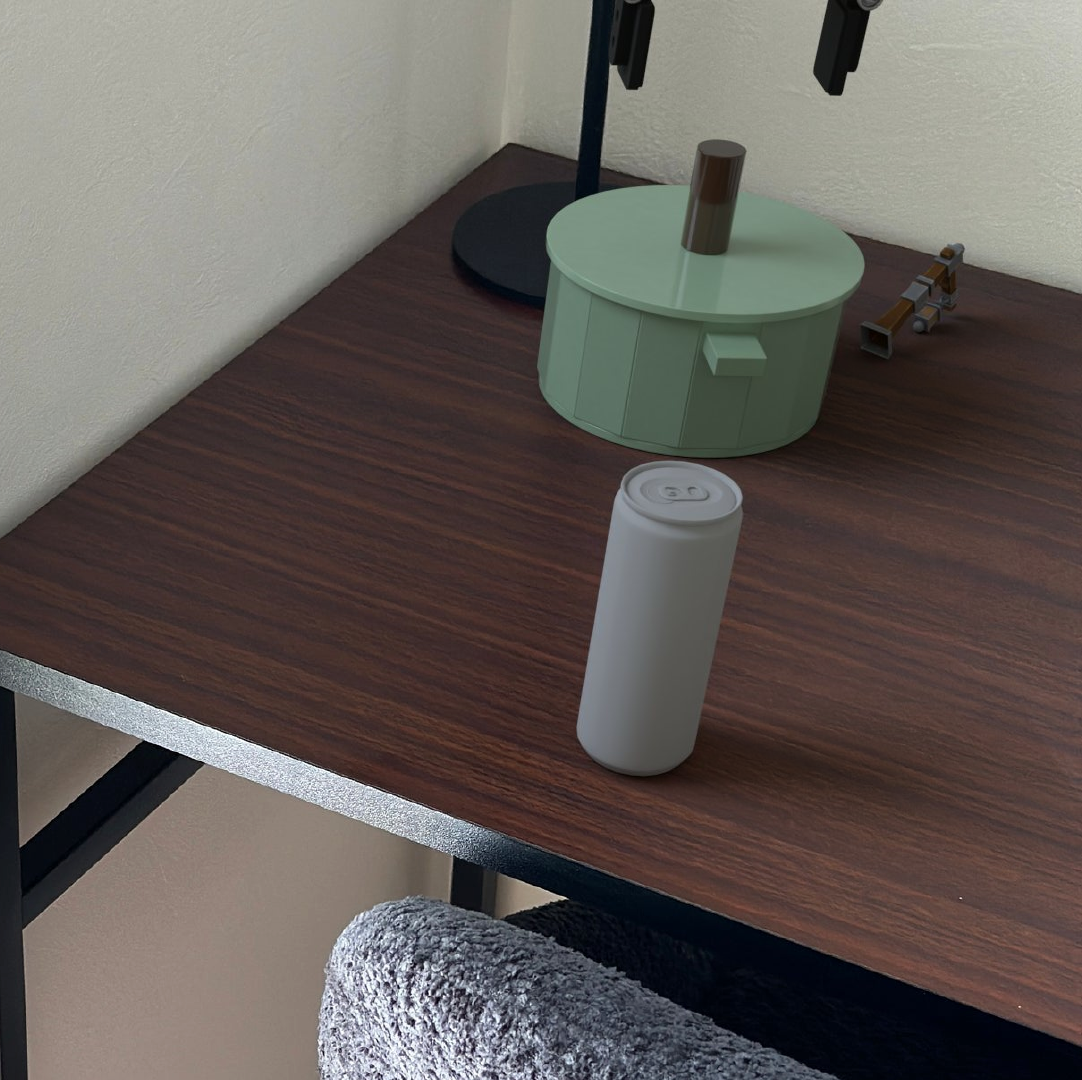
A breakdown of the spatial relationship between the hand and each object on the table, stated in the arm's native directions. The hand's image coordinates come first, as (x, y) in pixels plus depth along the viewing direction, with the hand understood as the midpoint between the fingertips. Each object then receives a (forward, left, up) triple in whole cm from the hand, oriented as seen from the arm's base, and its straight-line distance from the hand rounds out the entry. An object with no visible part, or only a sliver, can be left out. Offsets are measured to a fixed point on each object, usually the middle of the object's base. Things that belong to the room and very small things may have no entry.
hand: (727, 83), depth 102 cm
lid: (0, 0, -9) cm, 9 cm away
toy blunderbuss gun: (-14, -7, -16) cm, 23 cm away
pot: (0, 0, -16) cm, 16 cm away
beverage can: (+8, +32, -16) cm, 37 cm away
